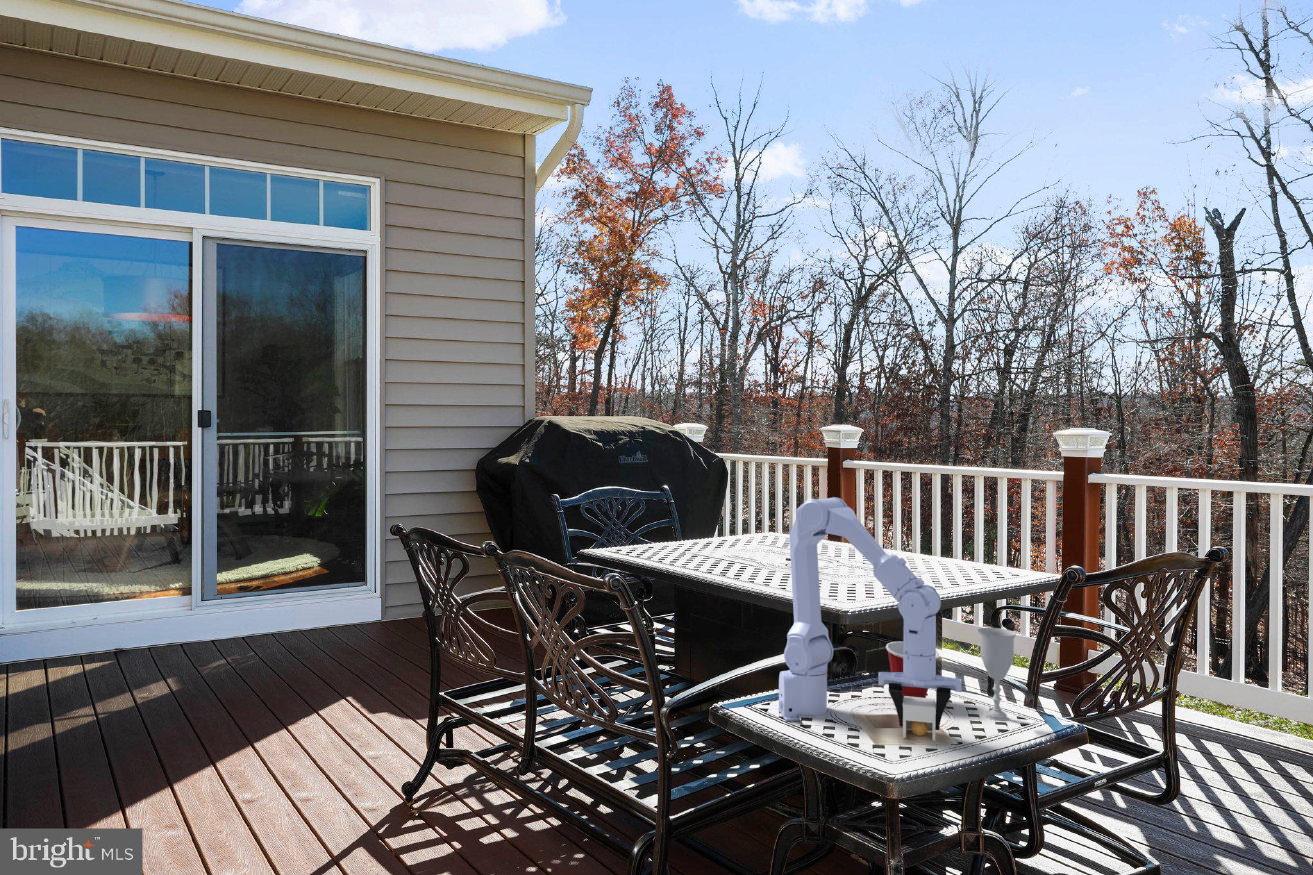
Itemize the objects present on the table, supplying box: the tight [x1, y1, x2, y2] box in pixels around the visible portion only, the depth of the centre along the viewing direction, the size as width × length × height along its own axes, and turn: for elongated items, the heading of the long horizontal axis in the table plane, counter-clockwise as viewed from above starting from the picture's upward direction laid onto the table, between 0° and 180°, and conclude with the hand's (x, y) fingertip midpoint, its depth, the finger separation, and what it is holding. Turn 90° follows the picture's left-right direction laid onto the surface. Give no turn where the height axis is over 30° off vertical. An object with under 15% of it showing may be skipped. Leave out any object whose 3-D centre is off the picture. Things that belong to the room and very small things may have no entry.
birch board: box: [849, 713, 959, 746], centre depth 160 cm, size 15×17×1 cm
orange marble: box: [911, 721, 928, 736], centre depth 156 cm, size 3×3×3 cm
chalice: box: [977, 627, 1017, 722], centre depth 167 cm, size 7×7×18 cm
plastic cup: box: [885, 641, 940, 700], centre depth 178 cm, size 11×11×12 cm
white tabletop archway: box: [903, 696, 936, 741], centre depth 156 cm, size 6×6×6 cm
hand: (919, 726), depth 156 cm, fingers closed on white tabletop archway, 6 cm apart
